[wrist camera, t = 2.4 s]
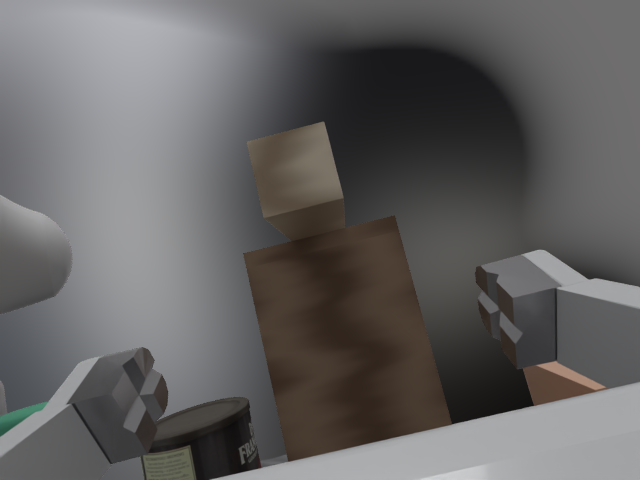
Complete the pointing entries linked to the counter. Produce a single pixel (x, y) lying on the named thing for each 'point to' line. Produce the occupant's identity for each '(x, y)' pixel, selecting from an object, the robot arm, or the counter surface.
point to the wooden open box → (345, 340)
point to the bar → (298, 182)
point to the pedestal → (557, 383)
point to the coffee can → (203, 443)
